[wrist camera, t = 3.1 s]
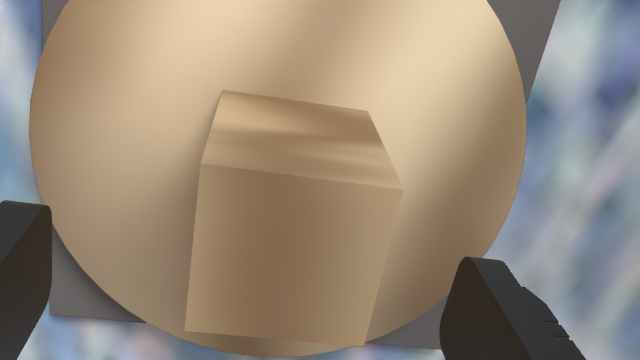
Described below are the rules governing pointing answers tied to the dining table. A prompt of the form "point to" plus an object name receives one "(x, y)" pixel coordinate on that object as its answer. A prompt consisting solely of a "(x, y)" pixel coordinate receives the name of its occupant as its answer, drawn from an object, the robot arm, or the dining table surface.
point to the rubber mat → (423, 332)
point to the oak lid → (277, 160)
